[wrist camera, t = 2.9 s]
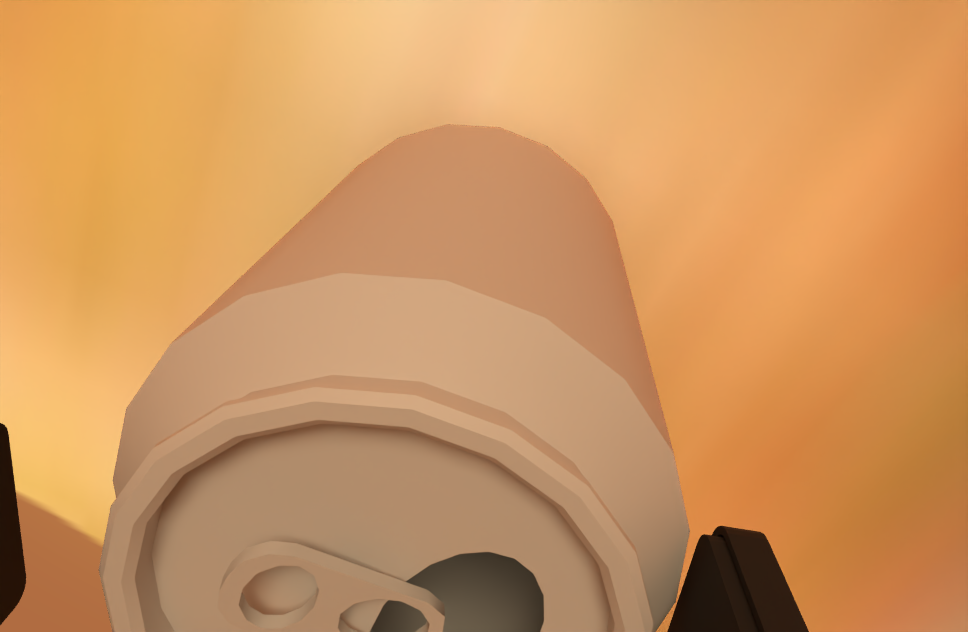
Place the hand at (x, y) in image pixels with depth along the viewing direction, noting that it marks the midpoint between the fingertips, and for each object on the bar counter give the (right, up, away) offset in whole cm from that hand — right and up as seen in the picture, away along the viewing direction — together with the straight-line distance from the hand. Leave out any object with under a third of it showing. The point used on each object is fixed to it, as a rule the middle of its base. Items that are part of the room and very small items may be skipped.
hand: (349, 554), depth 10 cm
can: (+2, +5, +9) cm, 10 cm away
